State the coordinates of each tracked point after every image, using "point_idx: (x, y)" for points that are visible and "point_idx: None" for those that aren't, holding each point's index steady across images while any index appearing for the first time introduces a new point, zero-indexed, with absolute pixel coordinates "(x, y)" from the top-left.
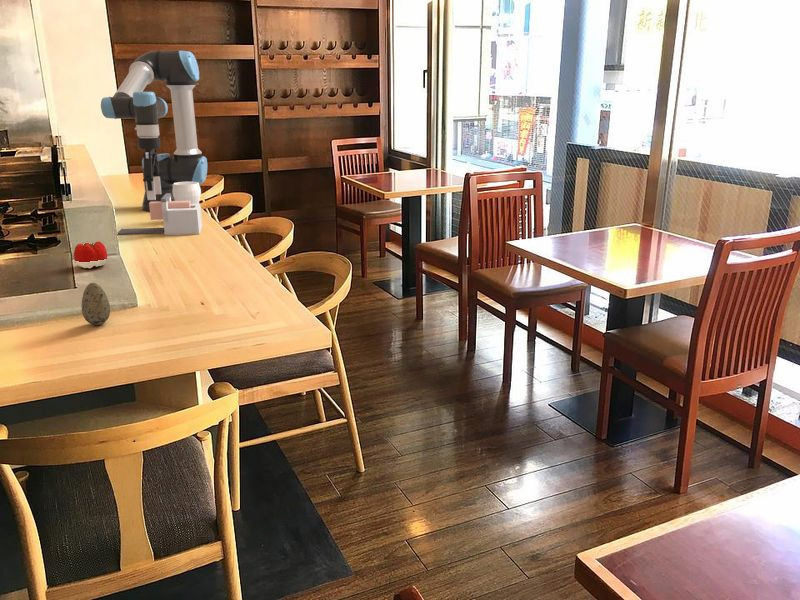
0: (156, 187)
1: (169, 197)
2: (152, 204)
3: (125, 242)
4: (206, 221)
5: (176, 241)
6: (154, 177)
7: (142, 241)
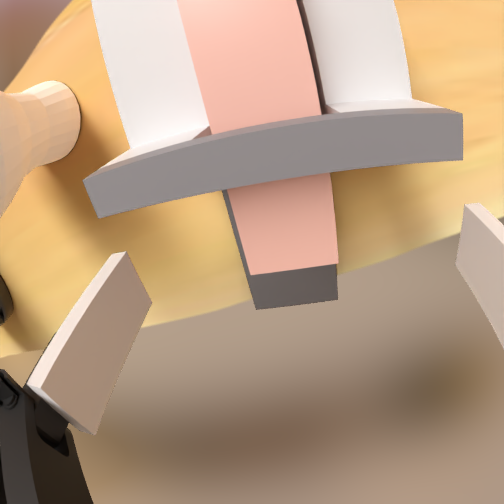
0: (116, 323)
1: (178, 144)
2: (336, 236)
3: (457, 232)
4: (47, 49)
5: (469, 46)
6: (80, 414)
7: (458, 178)
